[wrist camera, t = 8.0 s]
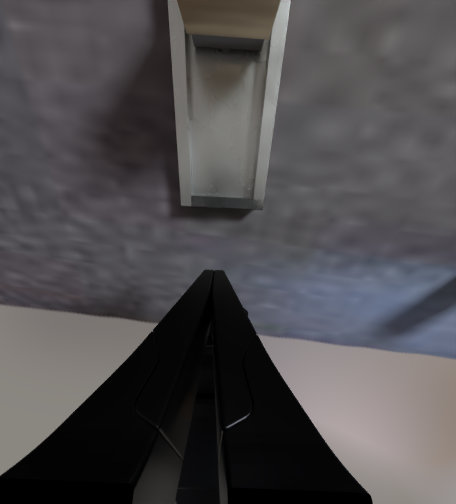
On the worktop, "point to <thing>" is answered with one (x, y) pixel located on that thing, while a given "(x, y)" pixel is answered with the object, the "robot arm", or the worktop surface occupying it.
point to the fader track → (225, 115)
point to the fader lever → (229, 22)
